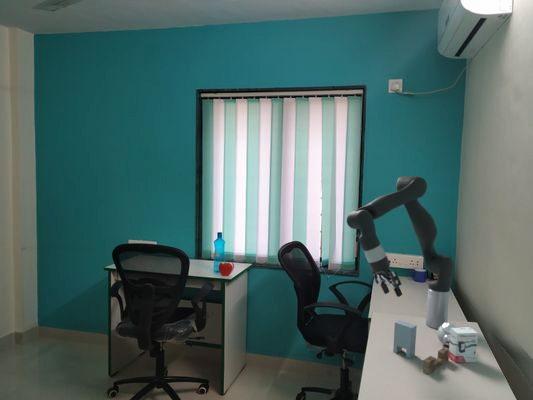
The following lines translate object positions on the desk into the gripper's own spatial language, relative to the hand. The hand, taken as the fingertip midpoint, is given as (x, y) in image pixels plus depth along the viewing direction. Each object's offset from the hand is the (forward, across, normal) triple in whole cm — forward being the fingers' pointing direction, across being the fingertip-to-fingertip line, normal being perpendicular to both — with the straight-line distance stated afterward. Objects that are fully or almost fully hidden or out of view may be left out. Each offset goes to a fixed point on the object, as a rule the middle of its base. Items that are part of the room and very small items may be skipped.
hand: (393, 294), depth 162 cm
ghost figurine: (+32, +2, -14) cm, 35 cm away
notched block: (+23, 0, +6) cm, 23 cm away
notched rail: (+27, -11, +2) cm, 29 cm away
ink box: (+32, -9, -10) cm, 35 cm away
